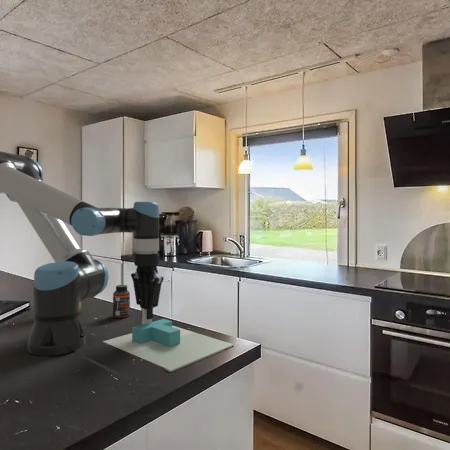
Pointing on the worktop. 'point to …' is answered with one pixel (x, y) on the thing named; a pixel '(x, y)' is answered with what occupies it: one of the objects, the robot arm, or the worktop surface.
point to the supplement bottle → (121, 302)
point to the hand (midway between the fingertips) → (147, 328)
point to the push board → (172, 349)
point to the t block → (157, 333)
